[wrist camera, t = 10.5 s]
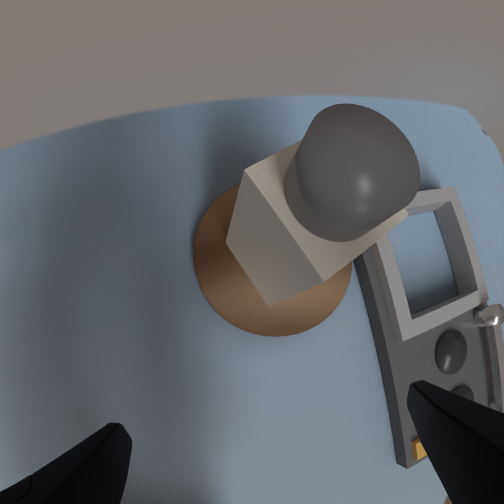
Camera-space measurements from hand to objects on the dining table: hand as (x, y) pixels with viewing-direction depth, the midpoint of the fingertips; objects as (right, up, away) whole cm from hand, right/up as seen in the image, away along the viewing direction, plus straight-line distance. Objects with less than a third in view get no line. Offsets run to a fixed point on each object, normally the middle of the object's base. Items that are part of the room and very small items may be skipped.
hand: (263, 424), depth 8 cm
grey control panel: (+15, -1, +15) cm, 21 cm away
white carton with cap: (+1, +5, +13) cm, 14 cm away
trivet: (+1, +5, +14) cm, 15 cm away
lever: (+20, -5, +15) cm, 26 cm away
